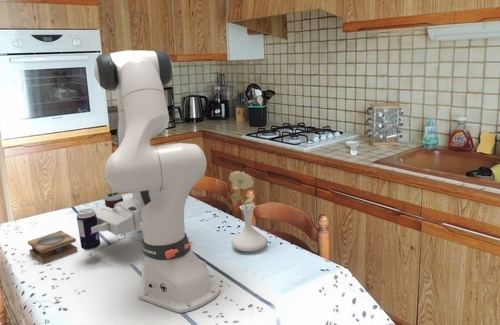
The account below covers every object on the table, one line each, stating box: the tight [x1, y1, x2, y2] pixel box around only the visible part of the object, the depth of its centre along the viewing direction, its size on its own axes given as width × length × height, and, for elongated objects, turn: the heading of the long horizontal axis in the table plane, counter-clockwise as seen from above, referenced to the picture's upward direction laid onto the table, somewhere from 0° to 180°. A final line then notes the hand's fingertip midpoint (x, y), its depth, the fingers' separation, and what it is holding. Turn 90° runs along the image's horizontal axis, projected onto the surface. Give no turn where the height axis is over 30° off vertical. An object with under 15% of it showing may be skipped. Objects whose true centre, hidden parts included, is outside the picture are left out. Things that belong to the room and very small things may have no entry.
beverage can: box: [76, 208, 101, 252], centre depth 139 cm, size 6×6×12 cm
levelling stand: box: [27, 230, 79, 265], centre depth 147 cm, size 11×11×5 cm
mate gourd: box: [102, 175, 124, 209], centre depth 180 cm, size 8×8×15 cm
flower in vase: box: [228, 170, 268, 252], centre depth 143 cm, size 13×11×25 cm
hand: (85, 227), depth 138 cm, fingers closed on beverage can, 6 cm apart
